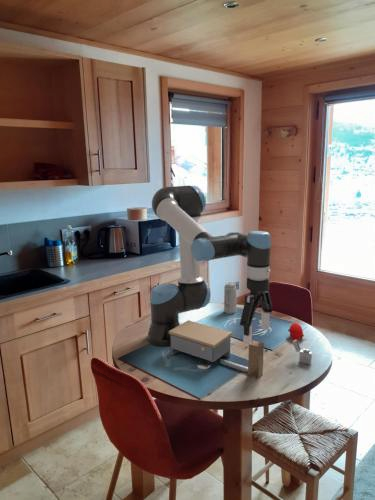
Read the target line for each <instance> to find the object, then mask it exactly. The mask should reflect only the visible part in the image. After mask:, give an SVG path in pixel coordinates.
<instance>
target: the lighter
mask: <svg viewBox="0 0 375 500" xmlns="http://www.w3.org/2000/svg"><path fill="white" fill-rule="evenodd" d="M292 344H293V347H294V349H295V352H299V361H298V362H299V363H302V364H305V365H311V364H312V358H313V352H312V351H310V350H309V349H308V348H305V347H304V348H303V349H302V348H301V346H300V343H299V340H298V341H297V340H292Z"/></svg>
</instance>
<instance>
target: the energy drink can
mask: <svg viewBox="0 0 375 500" xmlns="http://www.w3.org/2000/svg"><path fill="white" fill-rule="evenodd" d="M223 289H224V291H223V293H224V294H223V296H224V298H223V299H224V300H223V306H224V307H223V310H224V312H225V314H229V315H234V314H235V313H236V312H237V285H236V283H235V282H226V283H225V285H224V287H223Z"/></svg>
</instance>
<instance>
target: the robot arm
mask: <svg viewBox="0 0 375 500" xmlns="http://www.w3.org/2000/svg"><path fill="white" fill-rule="evenodd" d="M206 200H207V199H206V196H205V194H204V191H203V189H201V188H200V187H199V186H197V185H179V186H178V185H177V186H174V185H173V186H163V187H161V188H160V189H158V190H157V191H156V192H155V194H154V195H153V197H152V199H151V209H152V211H153V213H154V214H155V215H156V217H157V218H158V219H160V220H161V221H165V222H166V223H167V224H168V225H169V226H170V227H171V228H173V230H175V232H176V233H177V234H178V247H179V250H178V251H179V263H180V265H179V266H180V277H179V279H177V284H176V283H171V282H168V283H161V284H158V285H156V286H154V287H153V288H152V290H151V291H150V298H149V301H150V319H151V322H150V327H149V329H148V332H147V341H148V342H149V343H150V344H152V345H155V346H159V347H169V346H170V347H171V334H169V331H170V330H172V329H174V328H175V327H177V326H179V325H181V324H180V321H179V315H180V314H183V313H186V312H191V311H194V310H196V311H197V310H200V309H202V308H205V307H206V306H207V305H208V304H209V303H210V300H211V295H212V294H211V293H212V291H211V288H210V285H209V284H208V282H207V281H205V278H204V277H203V276H202V274H201V262H208V261H213V260H218V259H219V260H220V259H223V258H231V257H235V256H237V257H238V256H240V257H243V258H244V257H245V258H246V289H247V290H249V291H250V293H249V295H245V297H244V304H243V309H242V312H241V317H240V322H239V325H240V326H242V327H243V333H242V334H243V337H242V338H243V339H242V342H243V343H244V344H247V345H248V346H249V345H251V344H252V341H253V340H252V339H253V325H252V324H253V323H252V322H253V319H254V316H255V313H256V310H257V309H258V308H259V306H260V308H261V309H262V311H261V312H260V313H261V318H260V320H261V321H260V329H261V330H265V331H269V330H270V329H269V328H270V313H273V303H272V299H271V298H272V297H271V294H270V278H269V277H270V274H271V269H270V267H271V249H272V248H271V247H272V242H271V234H270V232H268V231H265V230H252V231H249V232H247V234H244V233H241V232H238V231H237V232H233V231H231V232H227V234H225V235H219V236H213V235H212V233H210V232H208V231H207V230H206V229H205V228H204V227H203V226H202V225H200V224H199V223H198V221H199V219H201V218H202V216H201V215H202V214H201V213H203V212H204V211H205V208H206V206H207V201H206Z"/></svg>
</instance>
